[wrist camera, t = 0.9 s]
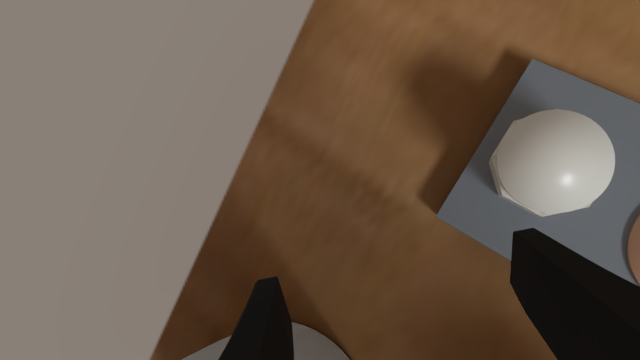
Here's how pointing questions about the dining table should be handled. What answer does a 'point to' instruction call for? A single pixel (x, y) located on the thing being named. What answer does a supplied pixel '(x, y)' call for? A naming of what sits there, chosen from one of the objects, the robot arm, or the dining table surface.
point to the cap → (553, 162)
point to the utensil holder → (309, 345)
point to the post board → (569, 227)
